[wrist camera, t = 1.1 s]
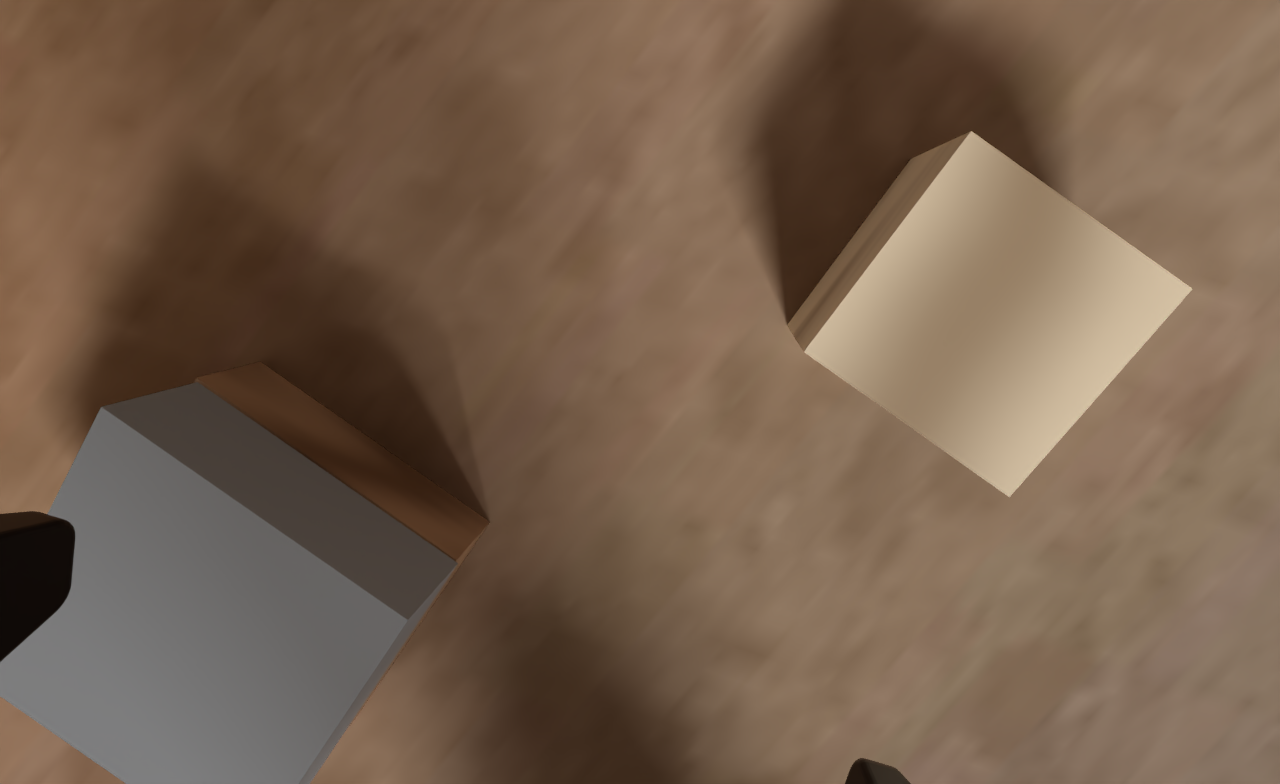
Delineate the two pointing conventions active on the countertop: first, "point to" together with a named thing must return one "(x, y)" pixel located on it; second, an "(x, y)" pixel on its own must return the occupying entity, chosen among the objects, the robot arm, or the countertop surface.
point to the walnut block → (351, 461)
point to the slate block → (215, 600)
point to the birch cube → (983, 308)
